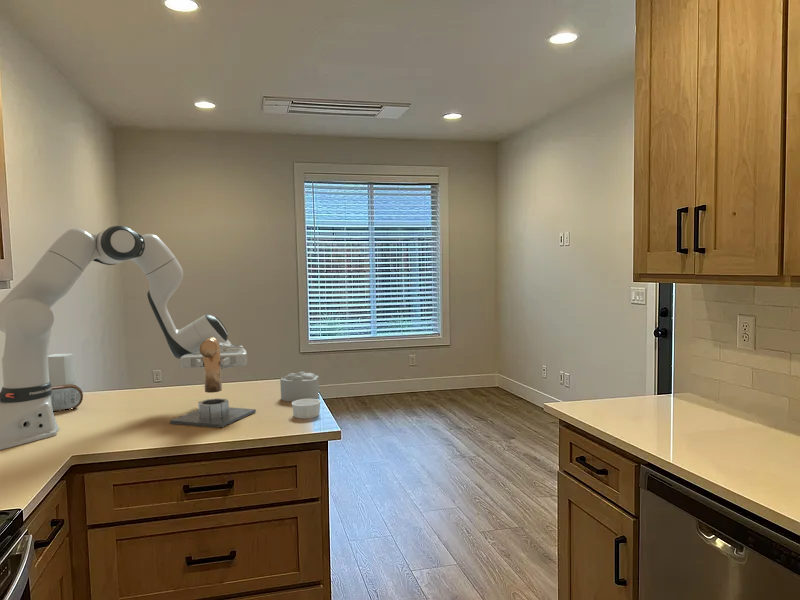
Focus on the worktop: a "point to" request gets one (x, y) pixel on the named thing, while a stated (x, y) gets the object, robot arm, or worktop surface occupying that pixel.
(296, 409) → the ramekin
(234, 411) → the duct collar
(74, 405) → the tin
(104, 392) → the worktop surface
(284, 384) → the lumpy-topped squat cylinder
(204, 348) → the wooden knob peg
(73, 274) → the robot arm
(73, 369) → the skincare box
